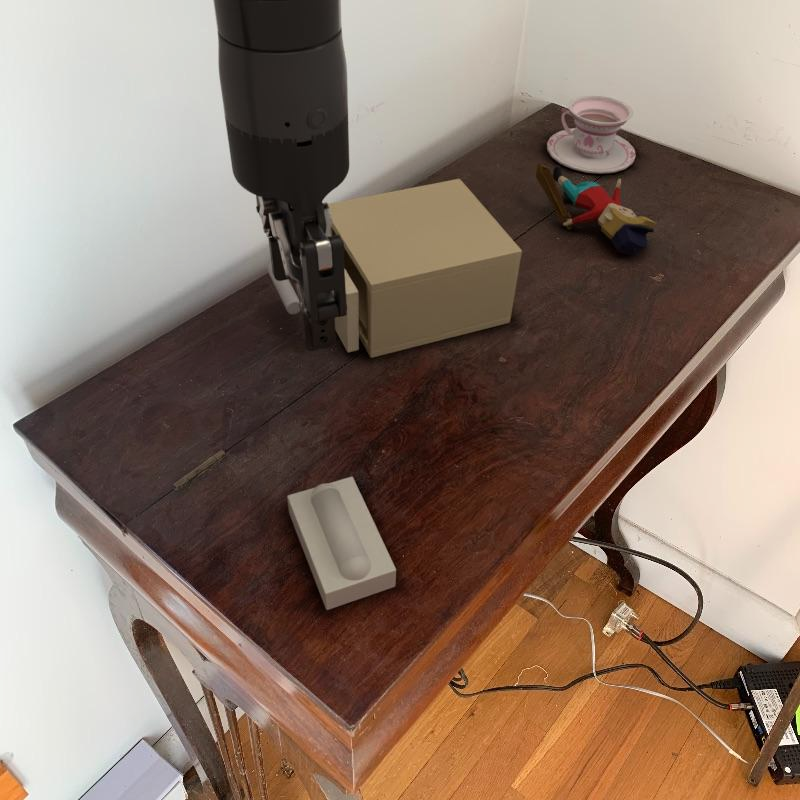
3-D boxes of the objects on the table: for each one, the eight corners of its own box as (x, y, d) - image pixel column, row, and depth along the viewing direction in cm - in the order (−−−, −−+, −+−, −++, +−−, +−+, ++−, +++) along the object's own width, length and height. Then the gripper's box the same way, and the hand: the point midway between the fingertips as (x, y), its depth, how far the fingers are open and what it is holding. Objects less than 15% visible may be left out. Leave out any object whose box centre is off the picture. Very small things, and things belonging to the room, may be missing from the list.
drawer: (299, 365, 77) (294, 305, 72) (262, 287, 85) (255, 228, 80) (480, 319, 83) (487, 261, 78) (429, 250, 91) (433, 194, 86)
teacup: (637, 139, 113) (648, 96, 108) (631, 181, 105) (643, 137, 100) (552, 126, 115) (559, 83, 110) (540, 167, 106) (548, 123, 102)
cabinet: (370, 358, 79) (371, 284, 73) (325, 276, 88) (321, 204, 82) (510, 322, 84) (522, 250, 77) (453, 248, 93) (459, 178, 86)
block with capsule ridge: (395, 586, 62) (397, 560, 59) (326, 610, 60) (324, 585, 57) (352, 493, 68) (352, 466, 65) (288, 513, 66) (285, 486, 64)
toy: (591, 146, 98) (676, 210, 90) (577, 192, 103) (656, 257, 94) (531, 158, 94) (614, 226, 86) (519, 206, 99) (597, 275, 90)
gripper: (200, 64, 52) (232, 266, 64) (254, 172, 43) (279, 384, 55) (311, 49, 54) (322, 247, 66) (384, 149, 45) (382, 359, 57)
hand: (303, 309), depth 60 cm, fingers open, 8 cm apart
